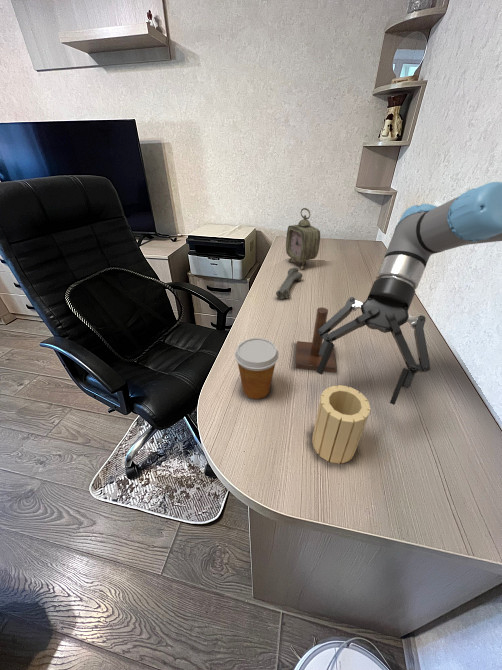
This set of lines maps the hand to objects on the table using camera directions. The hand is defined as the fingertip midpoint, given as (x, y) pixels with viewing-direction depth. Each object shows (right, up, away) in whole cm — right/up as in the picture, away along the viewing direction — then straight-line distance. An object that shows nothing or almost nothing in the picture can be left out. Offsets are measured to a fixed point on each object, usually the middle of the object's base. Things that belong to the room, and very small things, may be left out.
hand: (353, 387), depth 52 cm
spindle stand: (-2, +4, +24) cm, 24 cm away
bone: (-4, +28, +59) cm, 66 cm away
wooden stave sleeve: (-3, -11, +2) cm, 12 cm away
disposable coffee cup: (-18, -3, +14) cm, 23 cm away
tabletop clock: (+5, +43, +80) cm, 91 cm away
